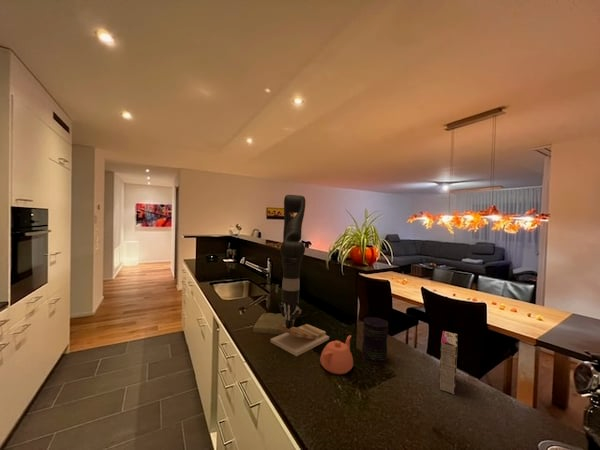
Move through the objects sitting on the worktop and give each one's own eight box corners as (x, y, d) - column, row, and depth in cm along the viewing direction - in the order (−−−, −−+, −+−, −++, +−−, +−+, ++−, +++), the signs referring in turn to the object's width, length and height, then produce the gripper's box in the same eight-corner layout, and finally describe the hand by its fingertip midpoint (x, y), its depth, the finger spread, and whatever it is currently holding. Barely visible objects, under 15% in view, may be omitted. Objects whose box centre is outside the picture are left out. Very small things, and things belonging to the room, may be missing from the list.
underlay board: (303, 328, 130) (303, 325, 130) (329, 339, 119) (329, 336, 119) (270, 342, 114) (270, 338, 114) (296, 356, 103) (296, 352, 103)
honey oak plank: (296, 330, 123) (297, 327, 123) (315, 339, 115) (316, 336, 115) (275, 327, 113) (276, 323, 113) (294, 336, 104) (295, 332, 105)
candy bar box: (439, 373, 96) (442, 330, 95) (455, 378, 93) (458, 333, 93) (437, 389, 86) (440, 341, 86) (455, 395, 83) (458, 345, 83)
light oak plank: (306, 326, 128) (306, 323, 128) (325, 334, 120) (325, 331, 120) (297, 330, 124) (297, 327, 124) (316, 339, 115) (317, 335, 115)
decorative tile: (252, 333, 123) (252, 325, 123) (262, 317, 143) (263, 311, 143) (290, 336, 121) (291, 329, 121) (295, 320, 141) (296, 314, 141)
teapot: (310, 368, 95) (311, 342, 95) (337, 351, 109) (338, 329, 108) (337, 383, 87) (338, 355, 87) (363, 363, 100) (364, 339, 100)
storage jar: (369, 349, 112) (371, 315, 112) (391, 358, 105) (392, 322, 105) (356, 356, 105) (358, 320, 105) (378, 367, 98) (381, 328, 98)
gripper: (308, 289, 108) (306, 330, 109) (286, 283, 117) (284, 321, 117) (295, 292, 103) (293, 335, 103) (274, 286, 112) (272, 325, 112)
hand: (288, 327), depth 110 cm, fingers closed
